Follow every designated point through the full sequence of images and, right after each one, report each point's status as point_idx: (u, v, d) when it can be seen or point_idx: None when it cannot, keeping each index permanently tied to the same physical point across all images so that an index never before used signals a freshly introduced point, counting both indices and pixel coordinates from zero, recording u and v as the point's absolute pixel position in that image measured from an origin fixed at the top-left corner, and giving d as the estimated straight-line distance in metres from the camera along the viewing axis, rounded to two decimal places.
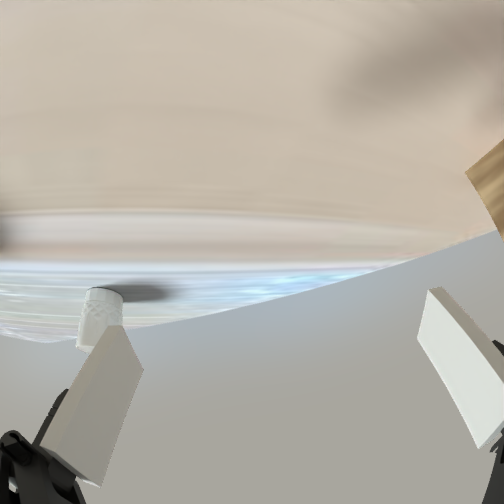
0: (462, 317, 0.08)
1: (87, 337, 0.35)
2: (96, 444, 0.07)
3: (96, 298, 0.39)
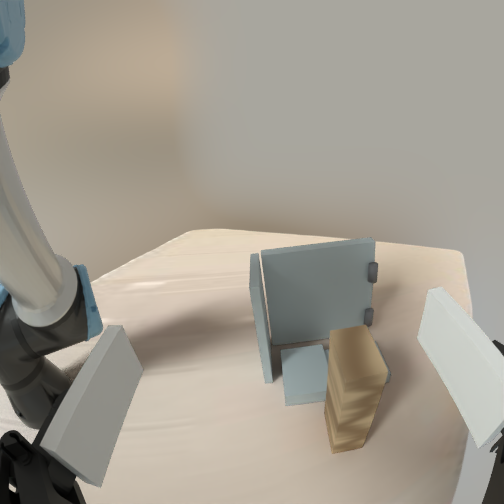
0: (462, 317, 0.08)
1: None
2: (96, 444, 0.07)
3: None
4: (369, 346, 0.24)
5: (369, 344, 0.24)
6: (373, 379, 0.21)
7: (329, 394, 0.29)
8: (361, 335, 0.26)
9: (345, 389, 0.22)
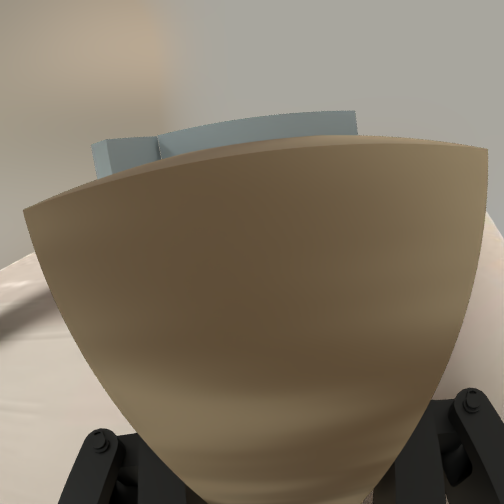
0: None
1: None
2: None
3: None
4: None
5: (322, 136, 0.05)
6: (351, 239, 0.02)
7: None
8: None
9: (78, 334, 0.02)
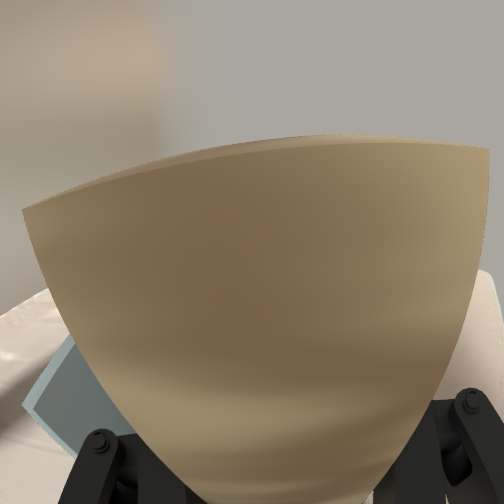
0: None
1: None
2: None
3: None
4: (320, 136, 0.05)
5: (322, 136, 0.05)
6: (353, 240, 0.02)
7: None
8: (293, 137, 0.07)
9: (77, 334, 0.02)
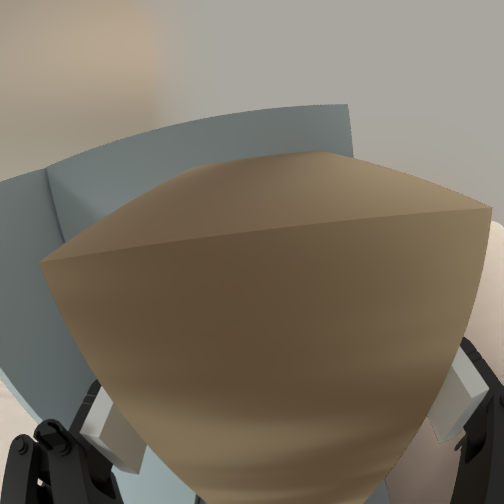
0: None
1: None
2: None
3: None
4: (325, 161, 0.05)
5: (327, 160, 0.05)
6: (357, 301, 0.02)
7: None
8: (297, 156, 0.07)
9: (99, 372, 0.02)
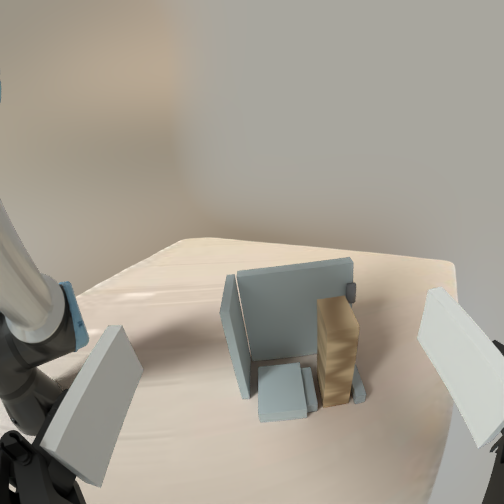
0: (462, 317, 0.08)
1: None
2: (96, 444, 0.07)
3: None
4: (346, 309, 0.34)
5: (346, 308, 0.34)
6: (348, 332, 0.31)
7: (319, 354, 0.39)
8: (340, 302, 0.36)
9: (327, 339, 0.31)
